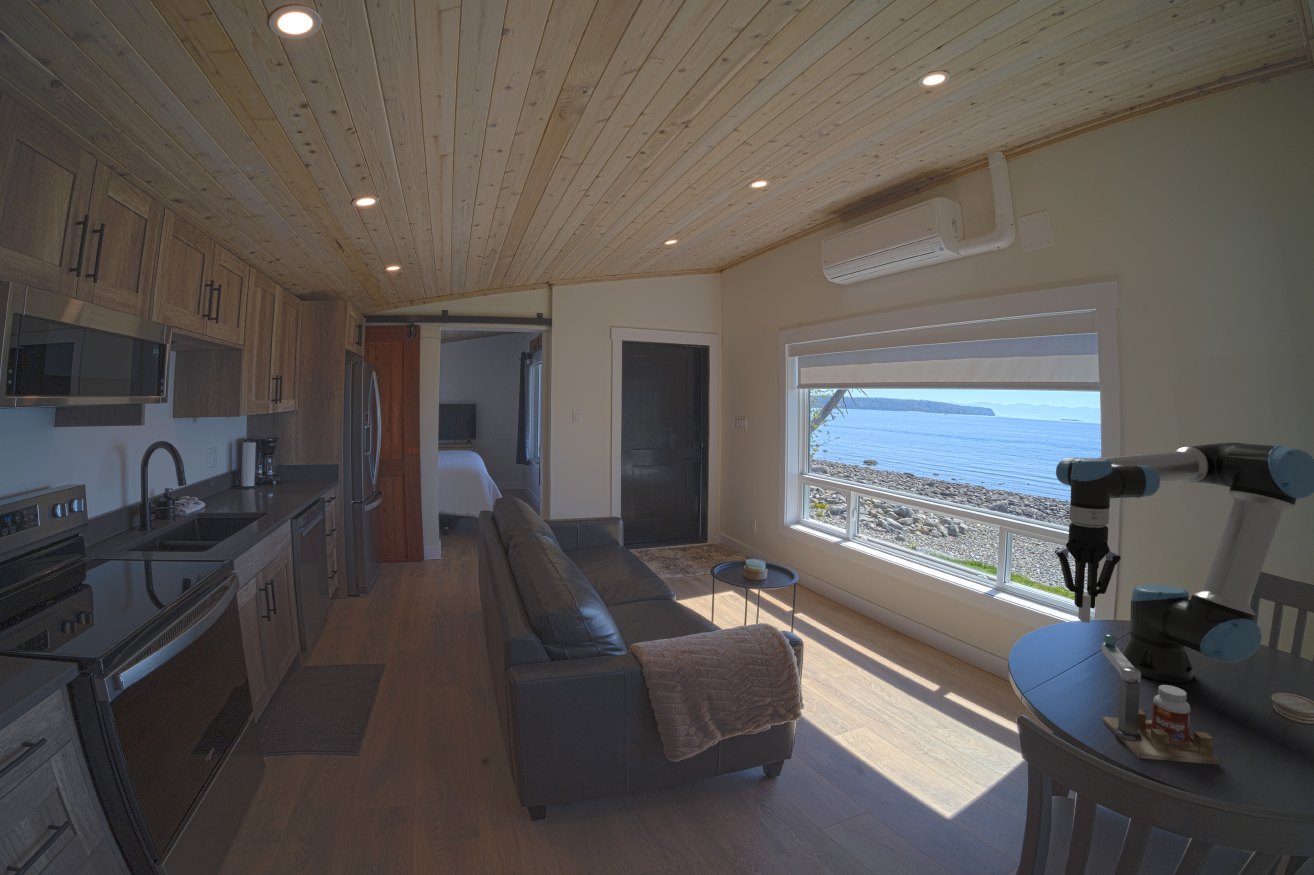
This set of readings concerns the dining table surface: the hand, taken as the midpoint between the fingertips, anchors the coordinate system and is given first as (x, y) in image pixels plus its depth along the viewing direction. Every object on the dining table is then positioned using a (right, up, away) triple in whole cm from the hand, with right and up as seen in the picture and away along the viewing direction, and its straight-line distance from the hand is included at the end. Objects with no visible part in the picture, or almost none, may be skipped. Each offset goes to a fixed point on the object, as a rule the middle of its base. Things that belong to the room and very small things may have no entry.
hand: (1083, 620), depth 143 cm
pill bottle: (+10, -22, -12) cm, 27 cm away
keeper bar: (+4, -9, -6) cm, 11 cm away
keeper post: (+2, -23, -10) cm, 26 cm away
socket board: (+8, -23, -11) cm, 27 cm away
